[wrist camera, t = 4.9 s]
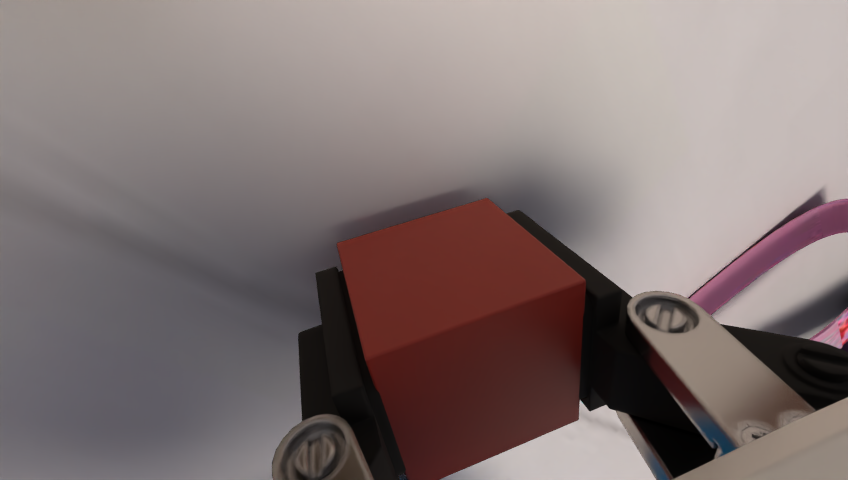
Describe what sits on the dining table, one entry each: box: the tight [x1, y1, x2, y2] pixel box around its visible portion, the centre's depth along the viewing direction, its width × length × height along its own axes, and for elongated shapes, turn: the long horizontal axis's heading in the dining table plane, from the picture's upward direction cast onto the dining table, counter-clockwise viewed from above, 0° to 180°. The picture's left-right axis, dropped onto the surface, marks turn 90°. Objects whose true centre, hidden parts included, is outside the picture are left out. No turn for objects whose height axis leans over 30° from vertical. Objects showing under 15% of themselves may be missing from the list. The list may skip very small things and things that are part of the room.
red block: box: [337, 198, 586, 480], centre depth 9 cm, size 4×4×4 cm
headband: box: [689, 199, 848, 349], centre depth 16 cm, size 11×4×2 cm
